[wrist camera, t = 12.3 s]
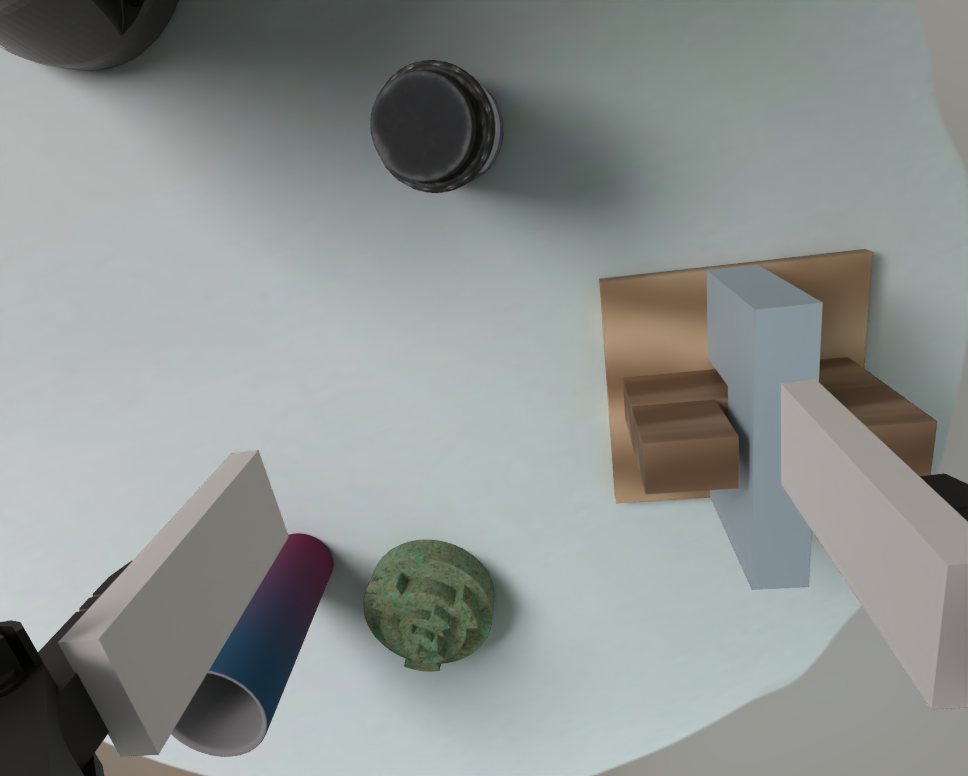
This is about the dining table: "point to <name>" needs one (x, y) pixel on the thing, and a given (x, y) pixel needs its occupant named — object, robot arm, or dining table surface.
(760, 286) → the slotted plate
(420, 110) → the pill bottle
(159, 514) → the dining table surface
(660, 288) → the jig
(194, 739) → the cup
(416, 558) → the decorative artifact
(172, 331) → the dining table surface
